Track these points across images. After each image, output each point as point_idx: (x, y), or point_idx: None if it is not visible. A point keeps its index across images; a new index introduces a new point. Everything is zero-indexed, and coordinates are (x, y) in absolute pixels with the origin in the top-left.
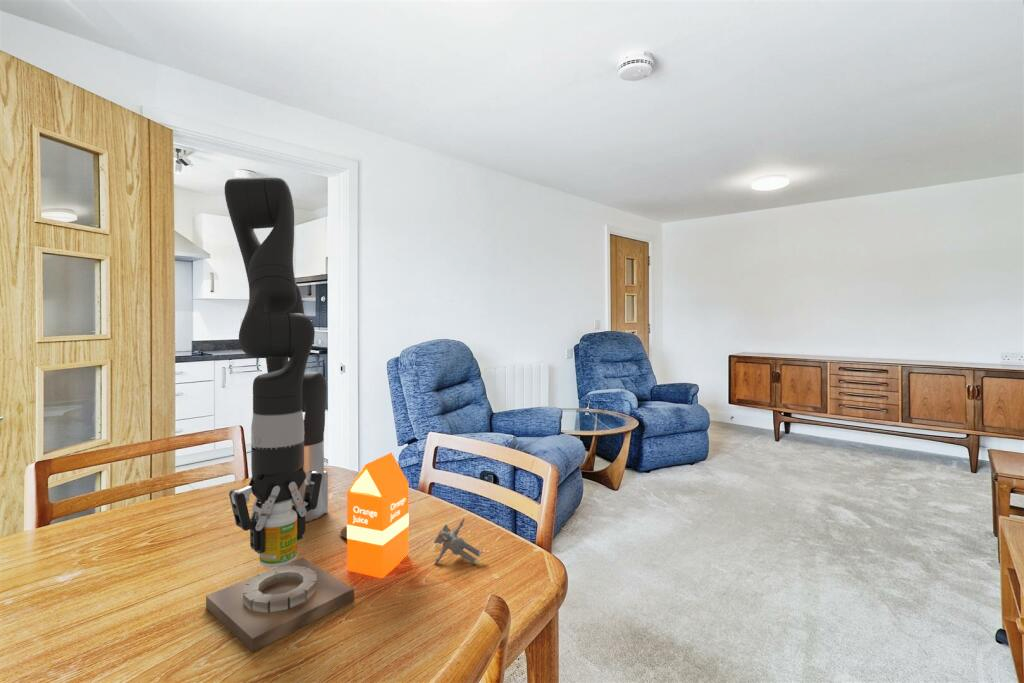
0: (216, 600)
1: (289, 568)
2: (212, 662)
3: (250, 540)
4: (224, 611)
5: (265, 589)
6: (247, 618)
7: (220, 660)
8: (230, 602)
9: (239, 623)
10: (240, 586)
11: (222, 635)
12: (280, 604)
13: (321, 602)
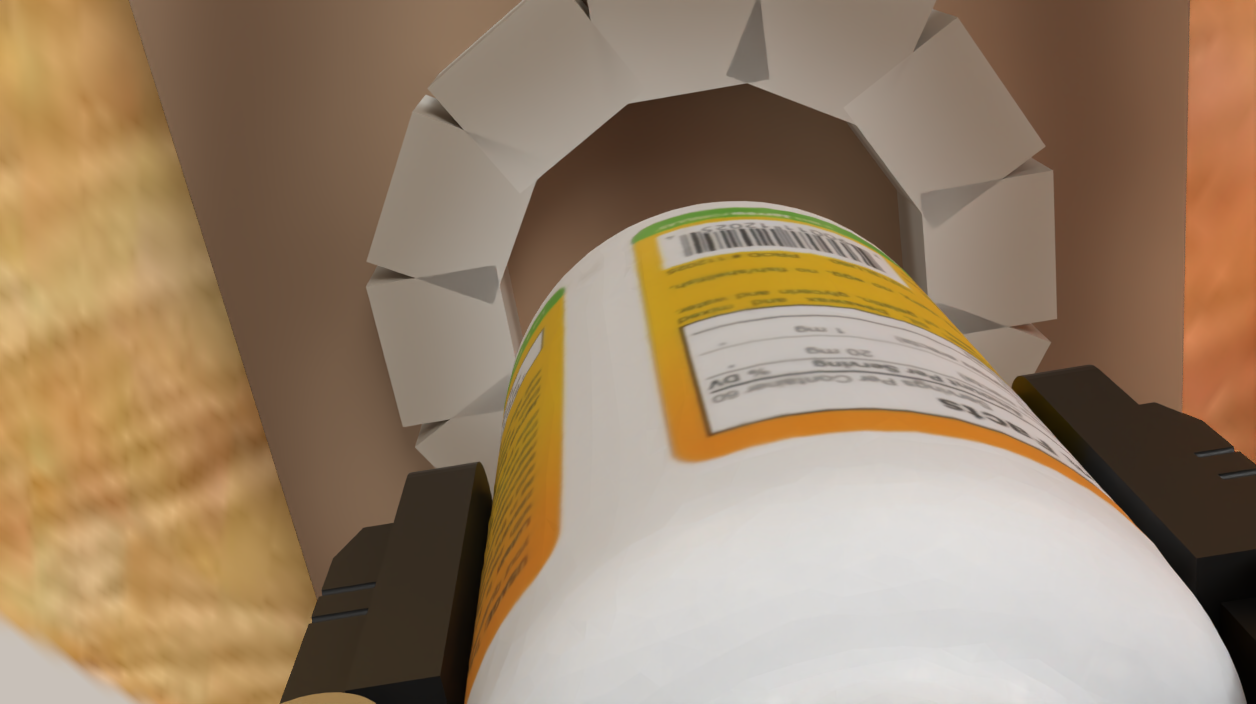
0: (172, 22)
1: (897, 55)
2: (147, 606)
3: (316, 621)
4: (223, 268)
5: (606, 130)
6: (371, 487)
7: (193, 616)
8: (284, 154)
9: (307, 516)
10: None
11: (227, 366)
12: None
13: None
